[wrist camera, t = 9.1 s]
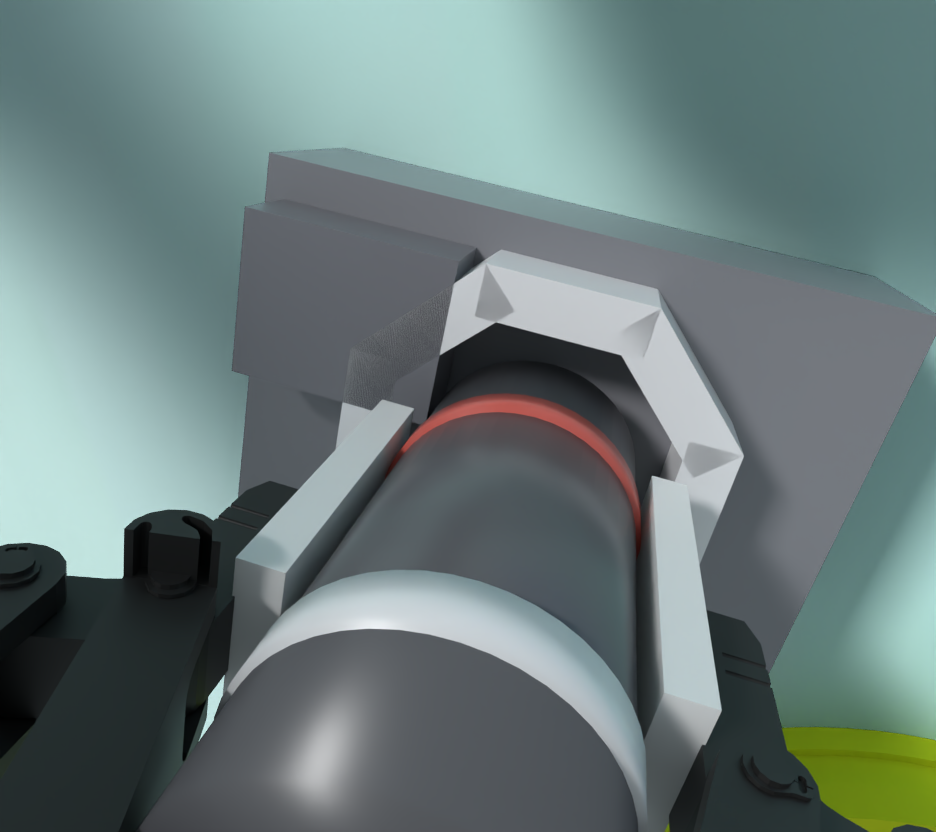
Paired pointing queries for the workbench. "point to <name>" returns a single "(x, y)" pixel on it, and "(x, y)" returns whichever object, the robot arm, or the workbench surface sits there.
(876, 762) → the pulley
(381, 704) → the lens
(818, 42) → the workbench surface
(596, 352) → the plate with octagonal ring
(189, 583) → the robot arm
